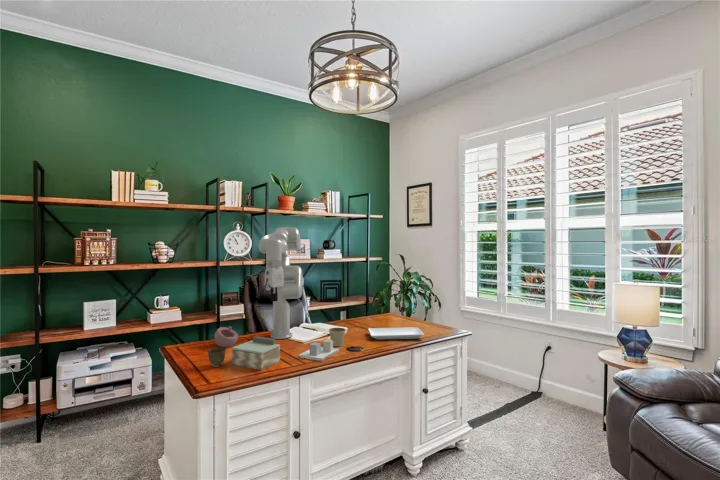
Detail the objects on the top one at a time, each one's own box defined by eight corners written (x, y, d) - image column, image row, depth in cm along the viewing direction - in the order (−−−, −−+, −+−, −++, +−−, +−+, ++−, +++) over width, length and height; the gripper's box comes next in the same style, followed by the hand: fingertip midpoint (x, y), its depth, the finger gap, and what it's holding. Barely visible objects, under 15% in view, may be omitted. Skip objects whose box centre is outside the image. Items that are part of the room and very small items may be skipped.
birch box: (232, 365, 169) (232, 349, 169) (251, 357, 181) (251, 342, 181) (261, 370, 162) (261, 354, 162) (279, 361, 174) (279, 346, 174)
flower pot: (343, 348, 196) (343, 332, 196) (326, 347, 198) (326, 331, 198) (347, 343, 205) (347, 327, 205) (331, 342, 207) (331, 327, 207)
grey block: (309, 354, 182) (309, 344, 182) (314, 352, 185) (313, 342, 185) (316, 355, 180) (316, 345, 180) (320, 353, 184) (320, 343, 184)
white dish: (298, 357, 180) (298, 354, 180) (317, 348, 196) (317, 345, 196) (321, 361, 175) (321, 358, 175) (338, 351, 190) (338, 348, 190)
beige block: (323, 351, 187) (323, 341, 187) (325, 349, 191) (325, 339, 191) (330, 352, 186) (330, 342, 186) (333, 349, 190) (333, 340, 190)
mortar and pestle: (230, 351, 191) (230, 329, 191) (209, 350, 193) (209, 328, 193) (242, 344, 202) (242, 323, 202) (222, 343, 205) (222, 323, 205)
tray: (424, 339, 214) (424, 333, 214) (370, 341, 211) (370, 335, 211) (417, 332, 231) (417, 327, 231) (367, 333, 228) (367, 328, 228)
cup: (211, 364, 170) (211, 347, 170) (227, 364, 171) (227, 346, 171) (205, 370, 163) (205, 352, 163) (222, 369, 163) (222, 351, 163)
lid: (232, 349, 169) (232, 342, 169) (251, 342, 181) (251, 335, 181) (261, 354, 162) (261, 346, 162) (279, 346, 174) (279, 339, 174)
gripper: (270, 265, 175) (270, 304, 175) (289, 263, 189) (289, 299, 189) (257, 264, 178) (257, 302, 178) (277, 263, 192) (277, 298, 192)
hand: (273, 301), depth 183 cm, fingers closed
